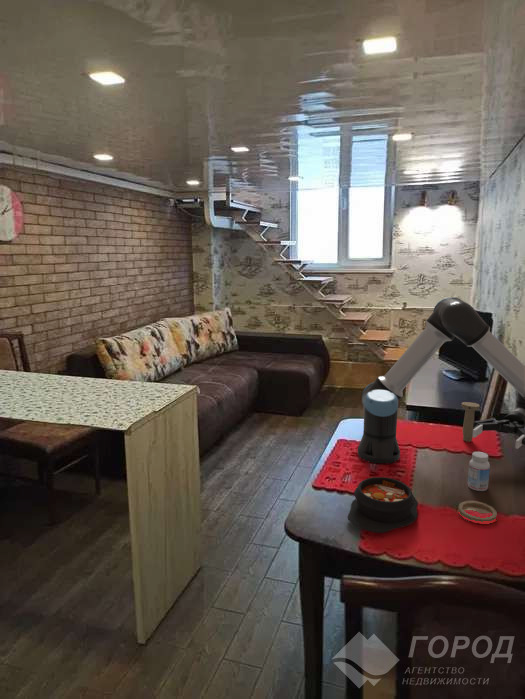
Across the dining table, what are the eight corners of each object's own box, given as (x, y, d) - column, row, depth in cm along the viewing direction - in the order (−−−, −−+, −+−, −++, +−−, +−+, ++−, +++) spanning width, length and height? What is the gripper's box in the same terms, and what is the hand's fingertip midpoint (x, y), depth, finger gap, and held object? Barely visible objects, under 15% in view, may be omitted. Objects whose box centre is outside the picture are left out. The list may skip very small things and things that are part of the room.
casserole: (376, 488, 156) (377, 464, 155) (432, 509, 144) (434, 483, 142) (331, 521, 138) (332, 494, 137) (391, 548, 126) (393, 519, 124)
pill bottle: (486, 484, 159) (490, 451, 156) (488, 493, 153) (492, 459, 151) (466, 481, 161) (469, 449, 158) (467, 490, 155) (470, 457, 153)
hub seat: (466, 524, 136) (466, 520, 136) (452, 505, 146) (452, 500, 146) (503, 524, 136) (504, 519, 136) (486, 504, 146) (487, 500, 146)
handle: (475, 444, 189) (478, 407, 186) (457, 441, 193) (460, 404, 189) (476, 440, 193) (480, 403, 190) (459, 436, 197) (462, 401, 193)
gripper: (555, 440, 167) (535, 460, 153) (480, 423, 185) (456, 439, 170) (557, 419, 166) (537, 438, 151) (482, 404, 183) (457, 419, 168)
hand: (494, 439), depth 161 cm, fingers open, 13 cm apart
